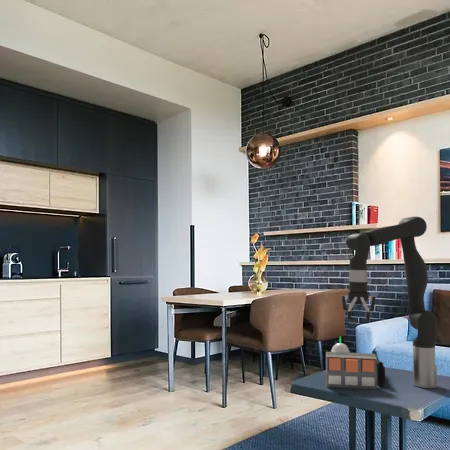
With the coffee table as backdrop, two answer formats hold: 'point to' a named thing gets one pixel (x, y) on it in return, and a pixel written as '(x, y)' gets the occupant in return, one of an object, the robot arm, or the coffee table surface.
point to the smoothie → (340, 348)
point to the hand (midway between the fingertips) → (358, 320)
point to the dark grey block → (351, 378)
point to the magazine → (379, 371)
